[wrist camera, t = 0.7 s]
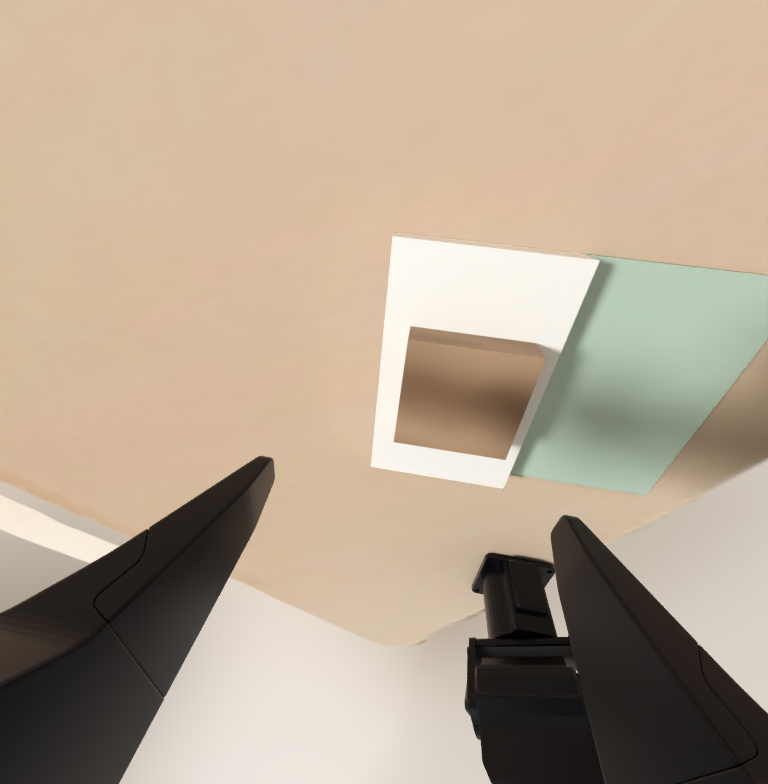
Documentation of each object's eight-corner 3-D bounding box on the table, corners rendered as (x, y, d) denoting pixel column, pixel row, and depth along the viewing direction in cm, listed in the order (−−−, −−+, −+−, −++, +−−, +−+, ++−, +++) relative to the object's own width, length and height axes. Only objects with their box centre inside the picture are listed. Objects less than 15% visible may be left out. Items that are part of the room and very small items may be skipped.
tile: (500, 439, 22) (505, 460, 20) (396, 423, 22) (393, 442, 20) (535, 342, 18) (546, 358, 16) (410, 325, 18) (407, 339, 17)
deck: (499, 469, 26) (503, 488, 24) (375, 449, 26) (370, 466, 25) (583, 253, 17) (599, 260, 15) (396, 232, 18) (392, 236, 16)
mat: (643, 492, 25) (645, 495, 25) (501, 469, 26) (502, 472, 25) (807, 279, 16) (813, 280, 16) (587, 254, 17) (589, 254, 17)
